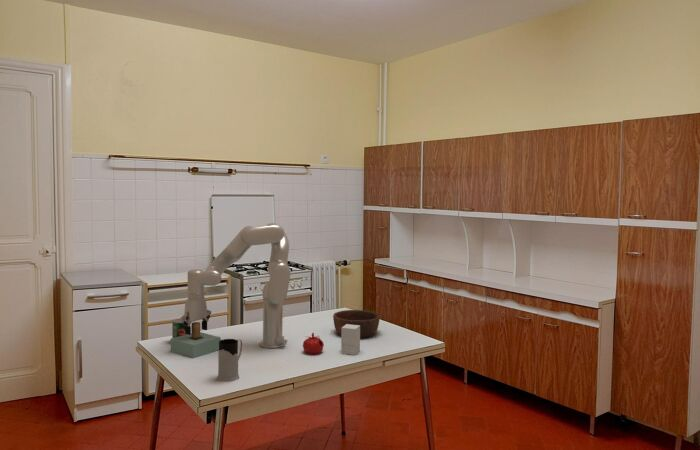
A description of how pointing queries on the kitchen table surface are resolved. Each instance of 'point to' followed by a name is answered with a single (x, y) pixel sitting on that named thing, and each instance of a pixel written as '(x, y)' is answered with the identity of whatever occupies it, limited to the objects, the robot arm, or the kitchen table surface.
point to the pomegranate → (313, 345)
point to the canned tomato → (178, 328)
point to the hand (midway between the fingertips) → (196, 331)
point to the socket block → (195, 345)
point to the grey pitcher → (228, 360)
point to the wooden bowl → (357, 321)
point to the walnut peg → (195, 331)
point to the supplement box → (350, 339)
